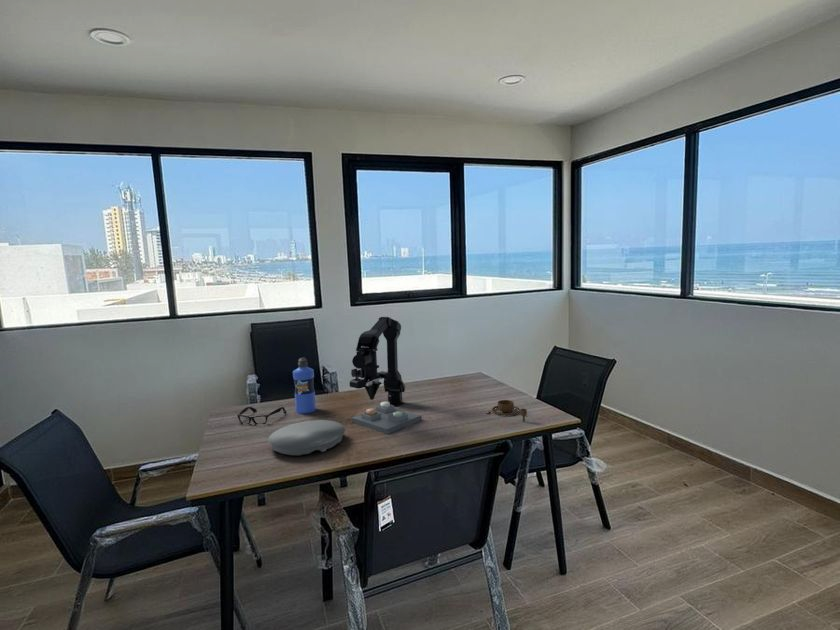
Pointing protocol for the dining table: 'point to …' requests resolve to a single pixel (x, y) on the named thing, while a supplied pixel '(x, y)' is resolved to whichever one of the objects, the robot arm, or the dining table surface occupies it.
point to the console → (386, 419)
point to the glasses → (257, 416)
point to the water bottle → (304, 388)
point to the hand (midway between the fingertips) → (371, 399)
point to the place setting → (508, 408)
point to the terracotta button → (371, 411)
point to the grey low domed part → (306, 437)
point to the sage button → (397, 414)
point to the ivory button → (385, 405)
